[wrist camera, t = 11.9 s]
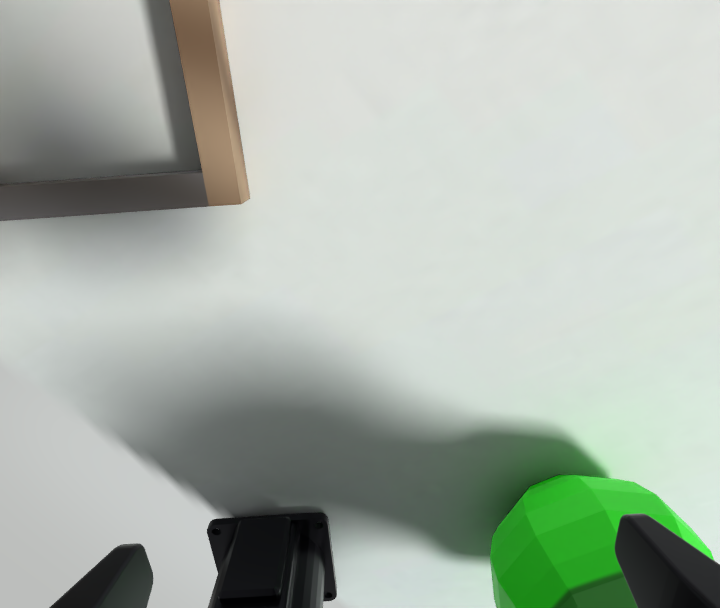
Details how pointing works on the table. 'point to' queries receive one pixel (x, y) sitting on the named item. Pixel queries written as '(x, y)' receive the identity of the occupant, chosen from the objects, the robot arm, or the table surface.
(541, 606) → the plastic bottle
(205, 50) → the rectangular wooden frame
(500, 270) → the table surface
